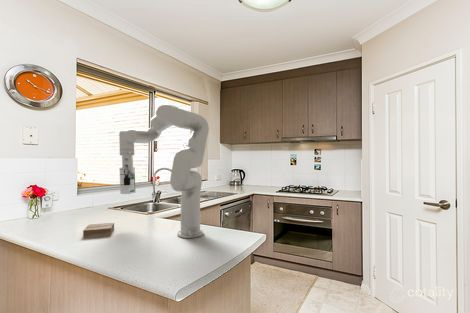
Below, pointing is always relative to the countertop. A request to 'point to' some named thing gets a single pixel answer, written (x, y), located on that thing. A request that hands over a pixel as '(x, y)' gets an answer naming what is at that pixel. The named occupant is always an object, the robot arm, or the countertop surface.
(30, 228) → the countertop surface
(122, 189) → the syrup box
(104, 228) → the walnut block
